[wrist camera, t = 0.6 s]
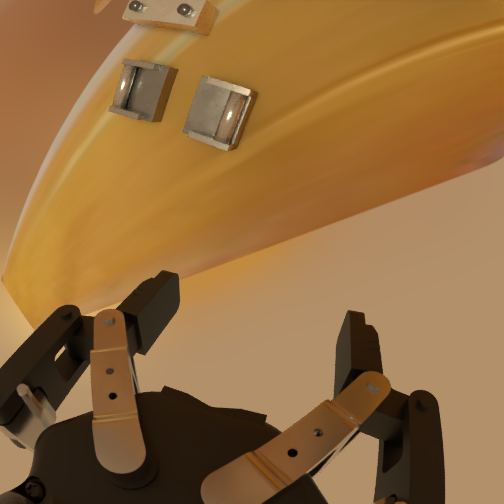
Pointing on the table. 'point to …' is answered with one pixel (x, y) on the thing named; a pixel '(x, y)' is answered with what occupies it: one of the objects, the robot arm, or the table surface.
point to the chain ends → (202, 109)
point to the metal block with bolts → (173, 14)
